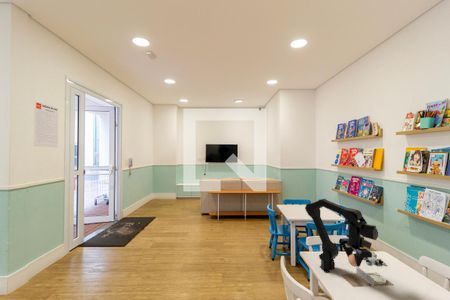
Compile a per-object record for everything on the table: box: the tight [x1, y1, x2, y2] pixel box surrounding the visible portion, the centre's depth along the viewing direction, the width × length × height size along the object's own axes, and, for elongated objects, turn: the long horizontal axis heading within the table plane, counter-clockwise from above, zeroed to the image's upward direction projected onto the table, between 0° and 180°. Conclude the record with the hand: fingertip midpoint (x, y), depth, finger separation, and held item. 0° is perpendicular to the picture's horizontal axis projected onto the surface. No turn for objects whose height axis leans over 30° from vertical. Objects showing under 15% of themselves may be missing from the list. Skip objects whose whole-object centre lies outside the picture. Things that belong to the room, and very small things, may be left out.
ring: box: [366, 271, 387, 284], centre depth 121 cm, size 9×9×1 cm
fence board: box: [339, 266, 395, 288], centre depth 120 cm, size 22×12×4 cm, turn 95°
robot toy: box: [353, 250, 387, 266], centre depth 143 cm, size 12×4×15 cm
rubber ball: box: [347, 253, 358, 268], centre depth 120 cm, size 6×6×6 cm
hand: (354, 263), depth 120 cm, fingers closed on rubber ball, 6 cm apart
